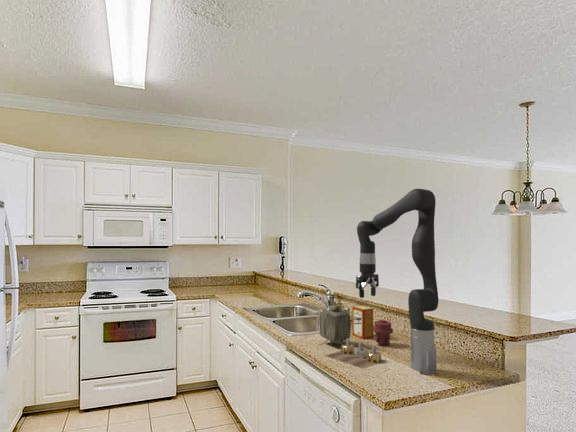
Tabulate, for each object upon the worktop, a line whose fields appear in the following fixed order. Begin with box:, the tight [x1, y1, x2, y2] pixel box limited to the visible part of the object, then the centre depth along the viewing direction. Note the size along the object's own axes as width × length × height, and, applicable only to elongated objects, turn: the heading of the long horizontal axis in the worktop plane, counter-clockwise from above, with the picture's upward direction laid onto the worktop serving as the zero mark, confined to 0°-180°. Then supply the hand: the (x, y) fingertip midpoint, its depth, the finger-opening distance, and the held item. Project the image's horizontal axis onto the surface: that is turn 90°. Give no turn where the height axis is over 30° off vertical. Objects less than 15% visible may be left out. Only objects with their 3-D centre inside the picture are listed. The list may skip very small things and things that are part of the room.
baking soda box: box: [351, 305, 374, 340], centre depth 215 cm, size 10×6×16 cm
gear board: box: [324, 338, 387, 369], centre depth 174 cm, size 22×16×7 cm
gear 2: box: [367, 350, 382, 364], centre depth 170 cm, size 6×6×3 cm
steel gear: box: [354, 347, 369, 358], centre depth 176 cm, size 6×6×3 cm
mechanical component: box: [373, 319, 394, 347], centre depth 198 cm, size 12×10×10 cm
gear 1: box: [340, 340, 356, 354], centre depth 182 cm, size 6×6×5 cm
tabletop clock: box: [318, 295, 352, 347], centre depth 194 cm, size 14×9×25 cm, turn 33°
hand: (367, 296), depth 187 cm, fingers open, 8 cm apart
